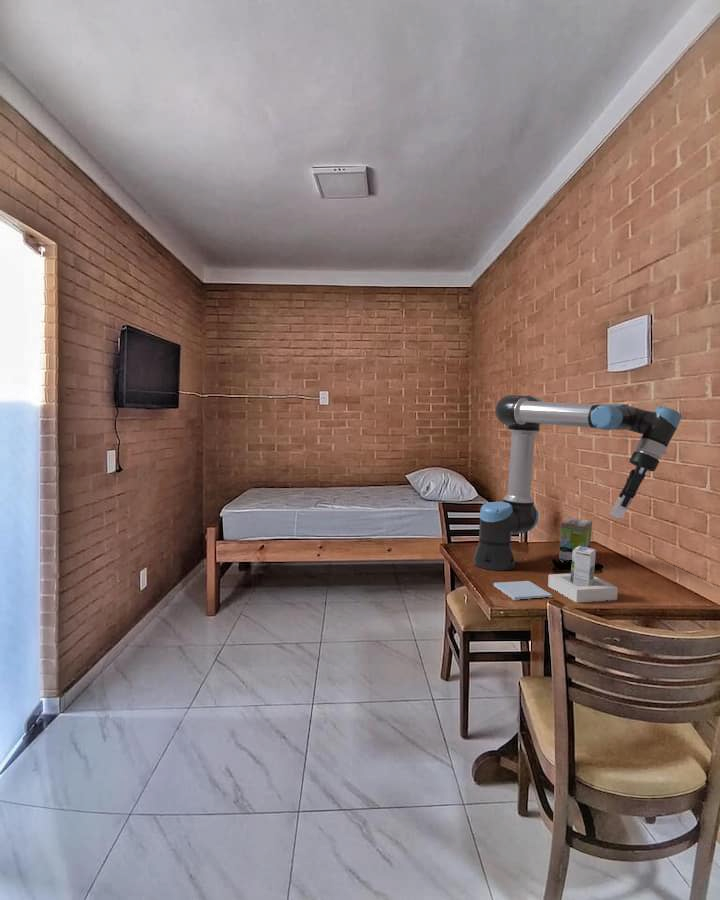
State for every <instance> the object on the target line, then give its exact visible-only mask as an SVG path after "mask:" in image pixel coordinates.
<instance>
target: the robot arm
mask: <svg viewBox="0 0 720 900" xmlns="http://www.w3.org/2000/svg"><path fill="white" fill-rule="evenodd" d="M494 409H495V410H494V412H495V415H496V418H497V419H498V421H499V422H500V423H502V424H503V425H505V426H508V428H507V431H508V432H509V433H510V434H511V441H510V453H509V454H510V455H509V467H508V468H509V469H508V481H507V494H506V495H505V496H504V497H502V501H491V502H490V501H489V502H487V503H484V504H482V506H481V507H480V513H479V531H478V532H479V533H478V534H479V535H478V536H479V537H478V544H477V547H476V550H475V552H474V555H473V561H472V562H473V564H474V566H477V567H479V568H482V569H485V570H491V571H510V570H513V569H514V568H515V562H516V561H515V557H514V554H513V550H512V546H511V541H512V535H518V534H524V533H527V532H529V531H531V530H533V529H534V528H536V526H537V524H538V522H539V511H538V510H537V508H536V506H535V500H534V499H533V498H532V496H531V489H532V480H533V479H532V477H533V464H534V462H533V461H534V451H535V436H536V435H537V434H539V432H540V427H541V426H540V425H542V424H543V425H555V426H565V427H566V426H567V427H578V428H589V429H590V428H591V429H598V430H601V431H602V430H603V431H611V430H612V431H613V430H615V431H616V430H617V431H630V432H632V433H637V434H639V435H641V437H640V439H639V440H638V443H637V444H636V446H635V451H634V452H632V455H631V456H630V458H629V463H630V464H632V465H633V466H635V467H634V469H631V470H630V472H629V475H628V476H627V479H626V482H625V484H624V486H623V487H622V490H621V491H620V492H619V495H618V498H617V500H616V501H615V504H614V505H613V507H612V509H611V511H610V513H609V516H612V517H614V518H617V519H619V518H620V519H624V517H625V515H626V513H627V510H628V509H629V508H630V507H629V506H630V505H631V503H632V501H633V499H634V497H635V496H636V495H637V492H638V490H639V487H640V485H641V484H642V482H643V481H644V479H645V477H646V473H647V472H655V471H656V469H657V467H658V465H659V464H660V460H661V459H662V457H663V455H666V454H667V453H668V452H667V451H666V450H667V448H668V446H669V444H670V442H671V440H672V438H673V437H674V434H675V433H676V431H677V430H678V426H679V424H680V422H681V420H682V414H681V413H680V412H679V411H677V410H676V409H672V408H670V407H667V406H658V407H656V408H655V409H654V410H653V411H652V410H651V411H649V410H645V409H643V408H642V409H641V408H639V407H634V406H631V405H629V404H624V403H623V404H621V403H615V404H614V405H612V404H593V403H592V404H591V403H588V404H587V403H571V402H557V401H555V402H552V401H551V402H550V401H542V400H541V399H540V398H538V397H535V396H532V395H516V394H508V395H505V396H502V397H501V398H500V399H499V400H498V402H497V403H496V406H495V408H494Z"/></svg>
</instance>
